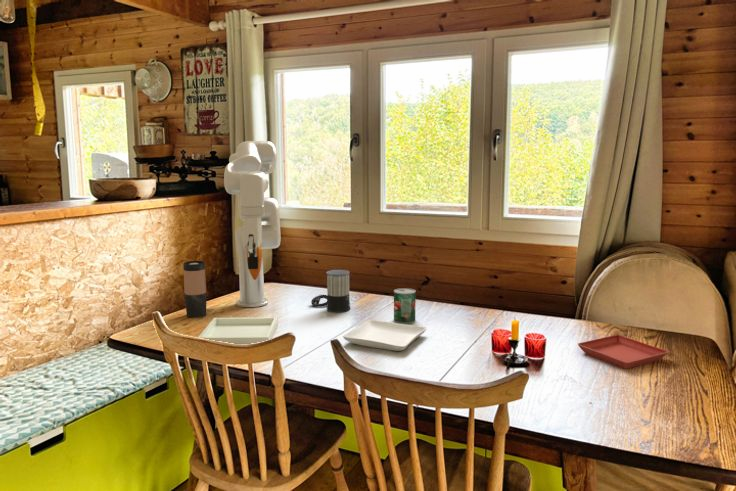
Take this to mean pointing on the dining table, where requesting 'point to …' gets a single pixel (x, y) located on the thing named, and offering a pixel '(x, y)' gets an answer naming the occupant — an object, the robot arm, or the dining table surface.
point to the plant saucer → (622, 351)
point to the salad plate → (384, 335)
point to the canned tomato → (404, 305)
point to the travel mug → (195, 288)
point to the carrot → (255, 272)
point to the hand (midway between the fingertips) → (254, 266)
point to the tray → (241, 329)
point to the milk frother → (336, 292)
